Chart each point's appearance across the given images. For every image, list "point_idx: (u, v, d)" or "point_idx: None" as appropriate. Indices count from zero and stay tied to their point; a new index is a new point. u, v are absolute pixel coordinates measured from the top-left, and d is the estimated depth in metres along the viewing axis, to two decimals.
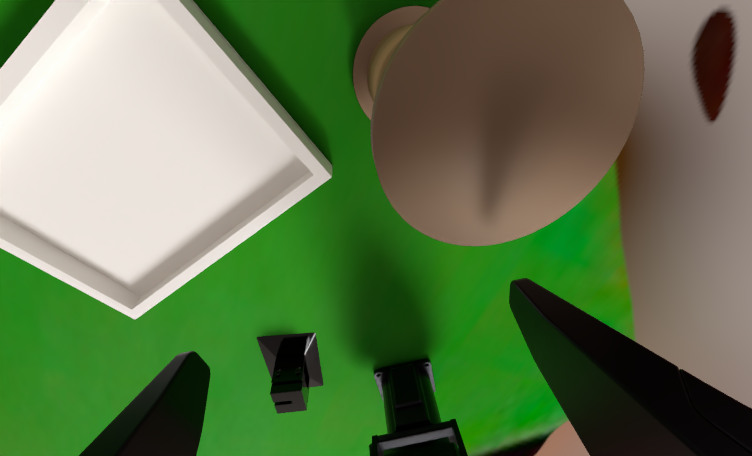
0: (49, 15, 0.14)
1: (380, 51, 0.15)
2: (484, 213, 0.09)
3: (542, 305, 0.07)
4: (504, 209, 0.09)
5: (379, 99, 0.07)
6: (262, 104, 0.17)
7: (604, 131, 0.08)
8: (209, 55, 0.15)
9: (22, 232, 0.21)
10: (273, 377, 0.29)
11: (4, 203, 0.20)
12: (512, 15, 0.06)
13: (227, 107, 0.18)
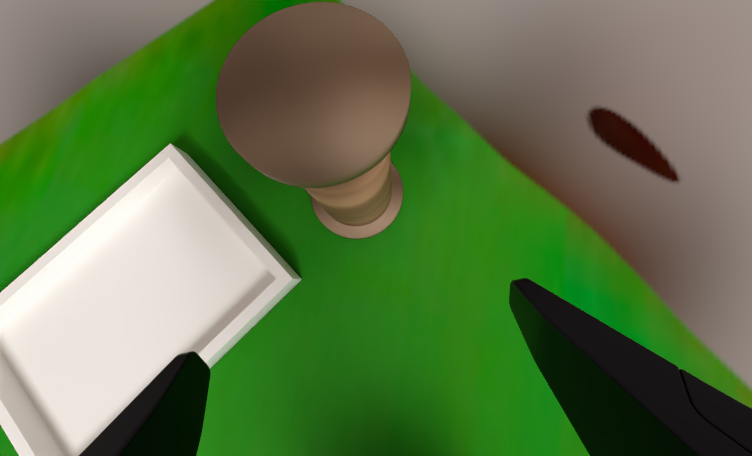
0: (117, 191, 0.22)
1: None
2: (316, 145, 0.10)
3: (542, 305, 0.07)
4: (333, 139, 0.10)
5: (219, 80, 0.11)
6: (237, 223, 0.21)
7: (386, 68, 0.10)
8: (205, 196, 0.22)
9: (12, 380, 0.21)
10: None
11: (17, 349, 0.22)
12: (289, 26, 0.11)
13: (216, 237, 0.23)
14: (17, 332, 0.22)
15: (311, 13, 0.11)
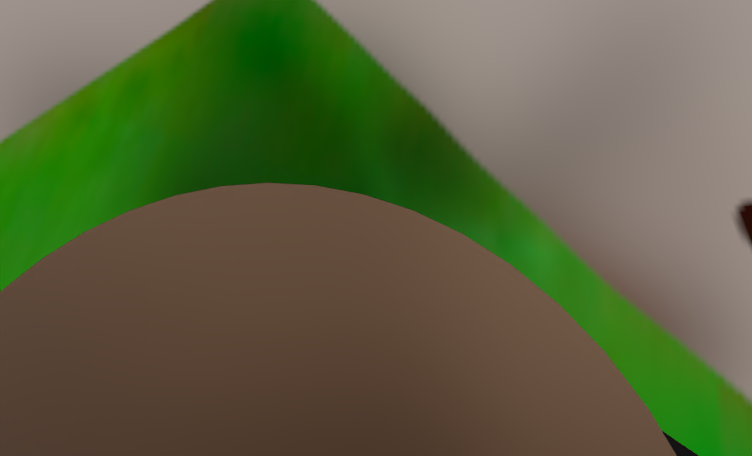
0: None
1: None
2: None
3: None
4: None
5: None
6: None
7: None
8: None
9: None
10: None
11: None
12: (151, 291, 0.03)
13: None
14: None
15: (240, 235, 0.03)
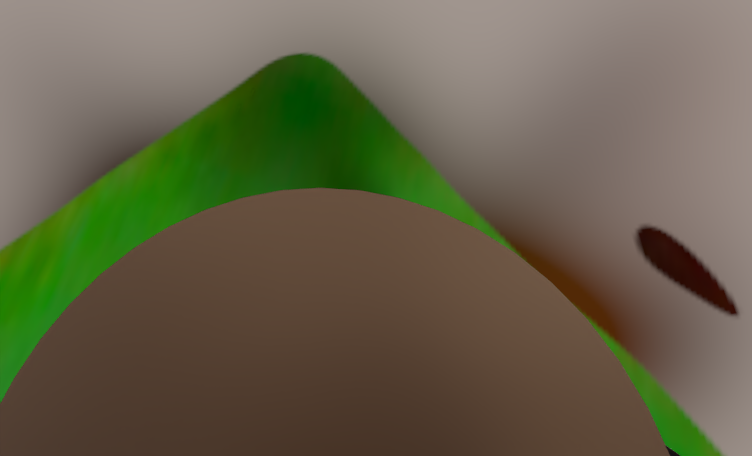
0: None
1: None
2: None
3: None
4: None
5: None
6: None
7: None
8: None
9: None
10: None
11: None
12: (227, 274, 0.03)
13: None
14: None
15: (299, 229, 0.03)
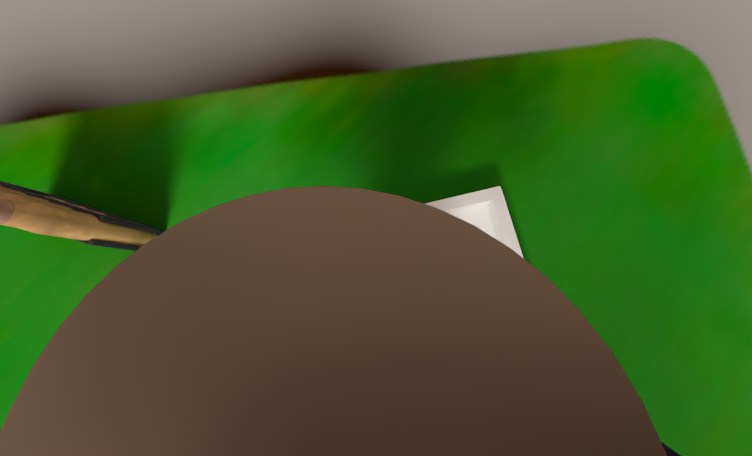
0: None
1: None
2: None
3: None
4: None
5: None
6: None
7: None
8: None
9: None
10: None
11: None
12: (233, 269, 0.03)
13: None
14: None
15: (302, 226, 0.03)
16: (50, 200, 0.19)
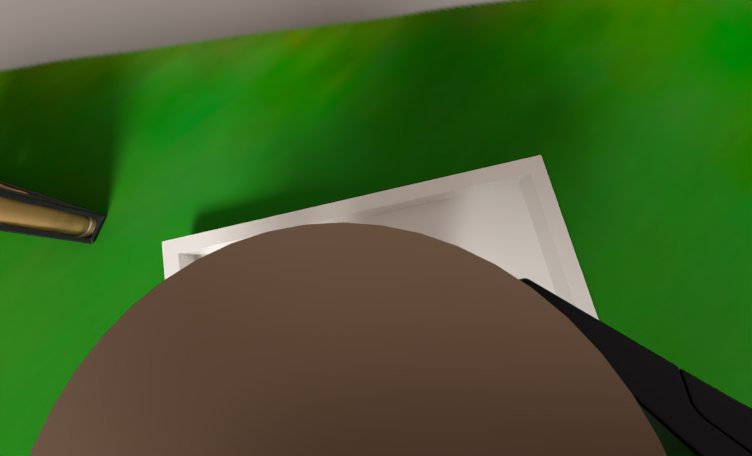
0: (443, 180, 0.16)
1: None
2: None
3: None
4: None
5: None
6: None
7: None
8: (561, 258, 0.15)
9: None
10: None
11: None
12: (254, 307, 0.03)
13: None
14: None
15: (323, 263, 0.03)
16: None
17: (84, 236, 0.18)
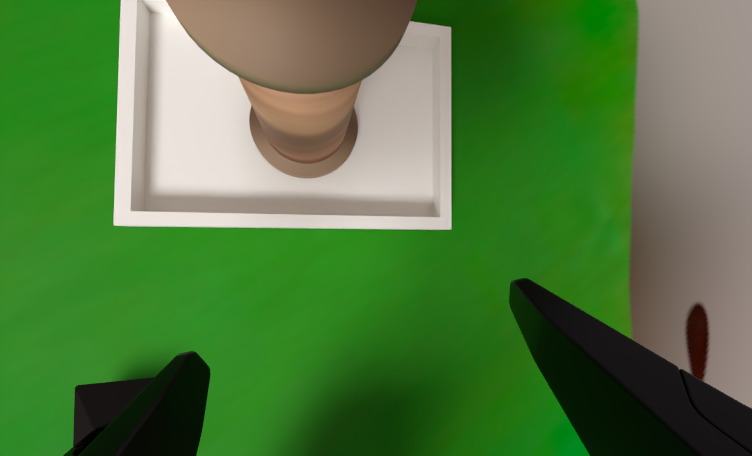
0: None
1: None
2: (282, 30, 0.08)
3: (542, 305, 0.07)
4: (306, 30, 0.08)
5: None
6: (447, 146, 0.21)
7: None
8: (441, 100, 0.21)
9: (145, 75, 0.18)
10: (66, 454, 0.16)
11: (168, 52, 0.19)
12: None
13: (410, 136, 0.22)
14: (179, 37, 0.19)
15: None
16: None
17: None
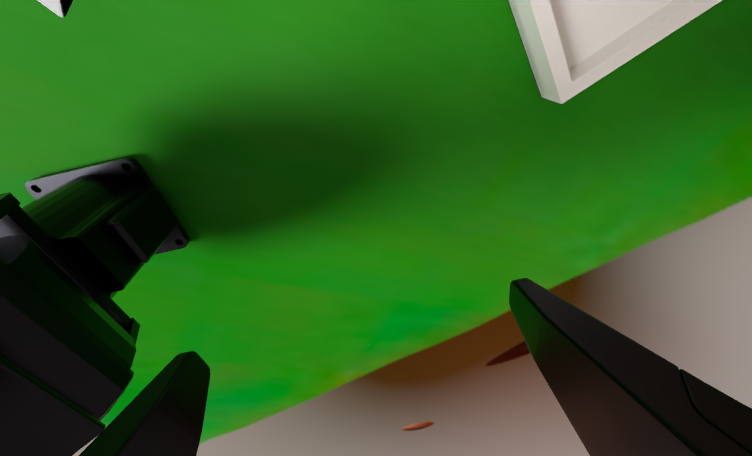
0: None
1: None
2: None
3: (542, 305, 0.07)
4: None
5: None
6: (667, 29, 0.15)
7: None
8: None
9: None
10: None
11: None
12: None
13: None
14: None
15: None
16: None
17: None
